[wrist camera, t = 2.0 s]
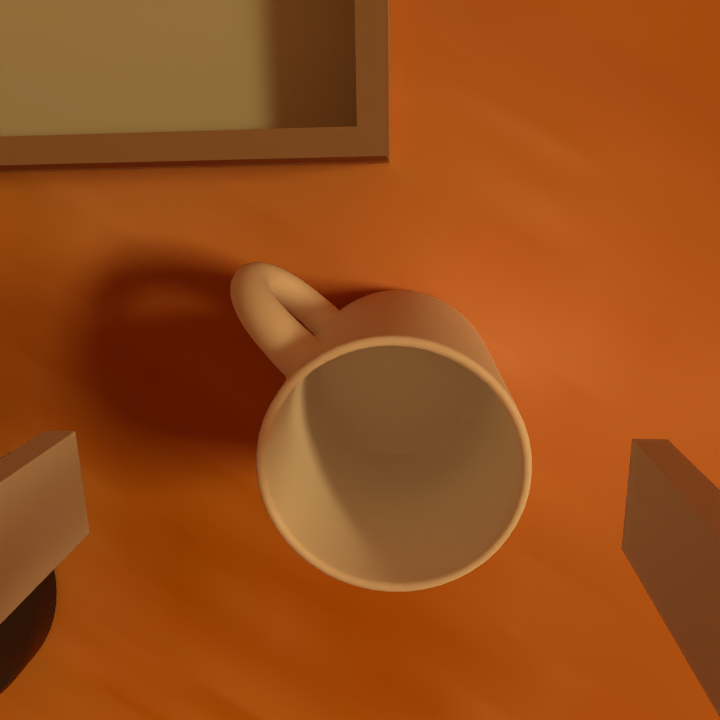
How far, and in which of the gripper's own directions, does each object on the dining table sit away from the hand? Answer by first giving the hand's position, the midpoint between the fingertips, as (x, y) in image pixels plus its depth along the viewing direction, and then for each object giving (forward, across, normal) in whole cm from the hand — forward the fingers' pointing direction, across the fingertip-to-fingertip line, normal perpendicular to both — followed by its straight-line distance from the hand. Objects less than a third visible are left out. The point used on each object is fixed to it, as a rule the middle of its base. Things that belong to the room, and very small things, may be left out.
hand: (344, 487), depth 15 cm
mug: (+14, 0, 0) cm, 14 cm away
